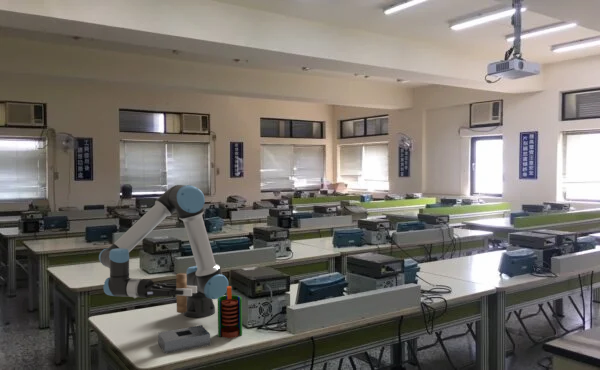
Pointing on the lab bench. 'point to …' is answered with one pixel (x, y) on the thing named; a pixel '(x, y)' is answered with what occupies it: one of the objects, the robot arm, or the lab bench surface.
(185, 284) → the pin
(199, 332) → the hole block
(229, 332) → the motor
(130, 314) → the lab bench surface
